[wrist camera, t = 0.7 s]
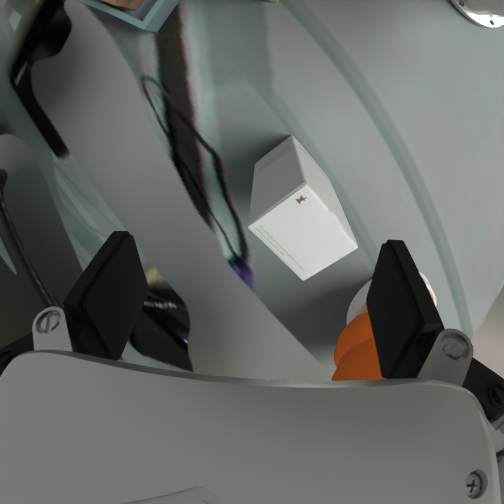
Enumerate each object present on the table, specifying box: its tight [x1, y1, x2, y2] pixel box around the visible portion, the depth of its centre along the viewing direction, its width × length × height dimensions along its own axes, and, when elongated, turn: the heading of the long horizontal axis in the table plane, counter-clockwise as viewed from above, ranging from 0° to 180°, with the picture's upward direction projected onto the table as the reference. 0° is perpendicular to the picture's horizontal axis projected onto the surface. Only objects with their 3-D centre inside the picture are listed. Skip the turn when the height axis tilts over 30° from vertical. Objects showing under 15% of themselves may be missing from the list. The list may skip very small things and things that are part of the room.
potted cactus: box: [332, 271, 436, 381], centre depth 38 cm, size 22×22×35 cm
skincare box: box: [248, 136, 358, 281], centre depth 31 cm, size 8×7×16 cm
